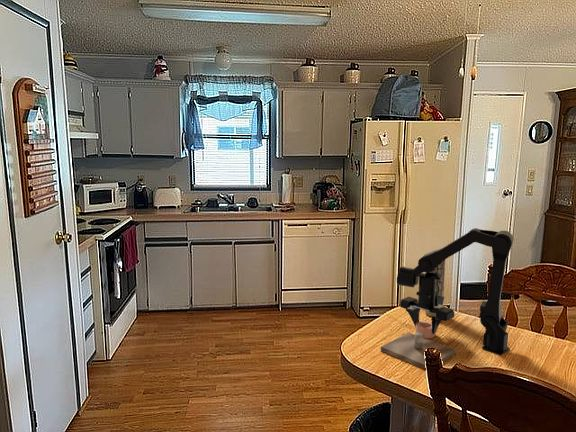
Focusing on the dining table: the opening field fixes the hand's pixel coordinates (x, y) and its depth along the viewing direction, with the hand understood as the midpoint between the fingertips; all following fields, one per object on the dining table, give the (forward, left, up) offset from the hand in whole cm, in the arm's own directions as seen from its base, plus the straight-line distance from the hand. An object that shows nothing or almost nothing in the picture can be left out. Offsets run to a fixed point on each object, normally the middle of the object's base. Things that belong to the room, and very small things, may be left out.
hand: (425, 330), depth 160 cm
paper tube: (+8, -19, -2) cm, 21 cm away
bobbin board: (-6, +14, -1) cm, 15 cm away
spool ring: (0, 0, -1) cm, 1 cm away
